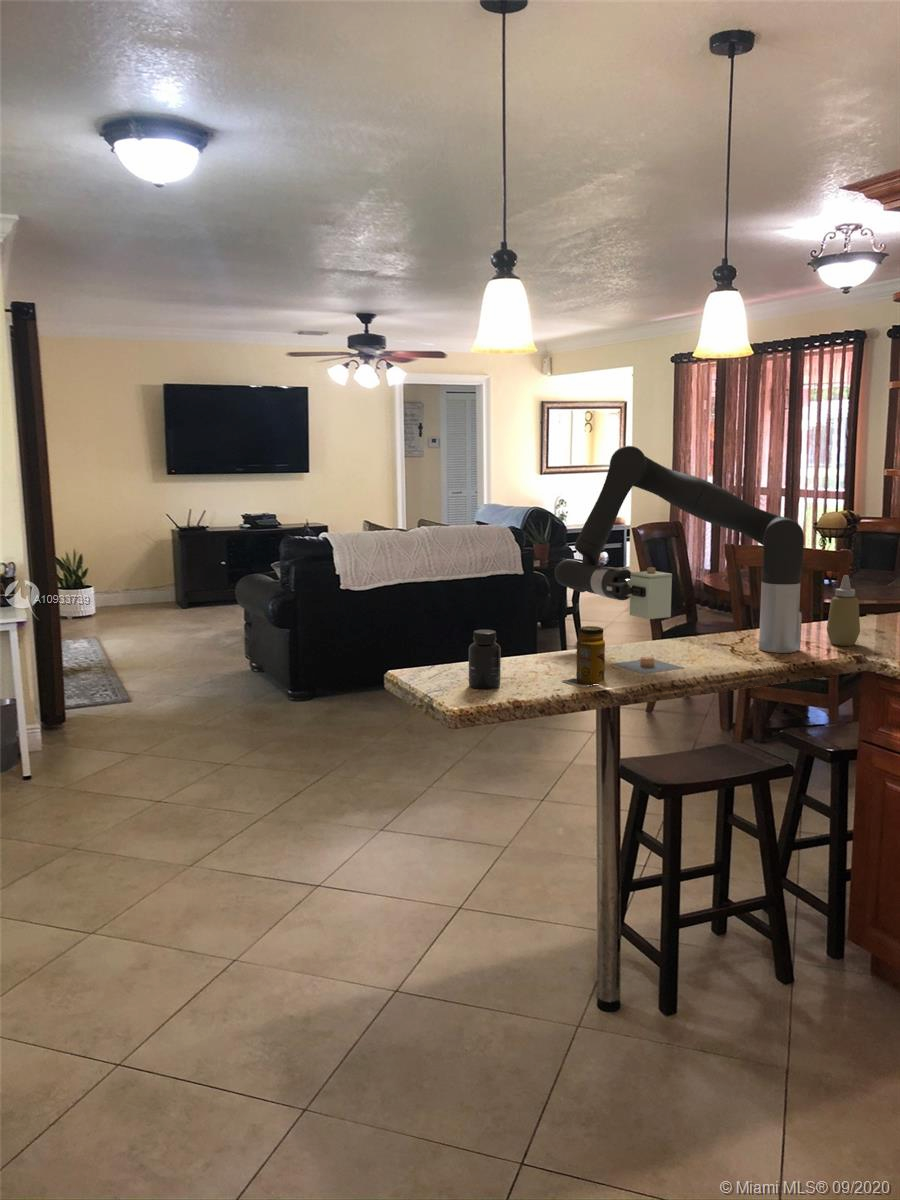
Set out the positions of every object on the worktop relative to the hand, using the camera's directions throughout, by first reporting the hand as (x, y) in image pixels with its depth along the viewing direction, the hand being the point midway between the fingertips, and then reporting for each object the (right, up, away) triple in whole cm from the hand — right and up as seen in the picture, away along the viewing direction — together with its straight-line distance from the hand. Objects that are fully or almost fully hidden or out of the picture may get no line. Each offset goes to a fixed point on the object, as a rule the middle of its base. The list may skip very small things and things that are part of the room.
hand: (657, 591), depth 206 cm
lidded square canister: (-1, -6, +3) cm, 6 cm away
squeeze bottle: (+55, -14, +29) cm, 63 cm away
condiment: (-18, -20, -10) cm, 28 cm away
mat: (-2, -18, +3) cm, 18 cm away
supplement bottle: (-40, -21, -12) cm, 47 cm away
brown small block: (-2, -17, +3) cm, 17 cm away
